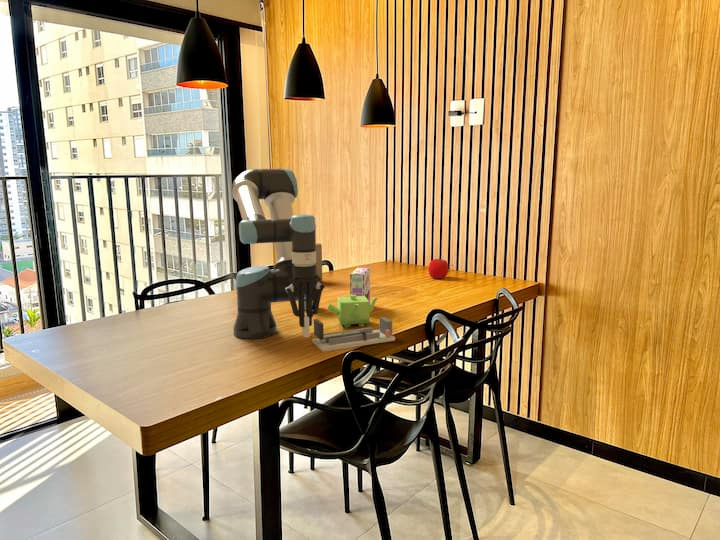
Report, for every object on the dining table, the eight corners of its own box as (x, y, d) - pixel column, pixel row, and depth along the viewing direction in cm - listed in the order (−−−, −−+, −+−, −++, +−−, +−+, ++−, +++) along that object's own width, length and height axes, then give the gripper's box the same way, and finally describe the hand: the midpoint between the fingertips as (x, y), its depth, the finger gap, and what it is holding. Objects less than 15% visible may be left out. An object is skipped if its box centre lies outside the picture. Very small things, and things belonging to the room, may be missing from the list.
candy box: (364, 313, 208) (364, 273, 205) (349, 313, 209) (349, 273, 206) (370, 305, 221) (370, 267, 218) (357, 304, 222) (356, 267, 219)
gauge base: (322, 351, 164) (322, 333, 163) (312, 342, 173) (312, 324, 172) (395, 340, 175) (395, 322, 174) (381, 332, 184) (381, 315, 183)
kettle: (380, 322, 196) (380, 293, 194) (360, 332, 184) (360, 301, 182) (348, 316, 204) (347, 288, 202) (326, 325, 192) (325, 296, 190)
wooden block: (308, 279, 275) (307, 241, 271) (323, 281, 269) (322, 243, 265) (295, 282, 267) (294, 244, 263) (310, 284, 261) (309, 245, 257)
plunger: (322, 347, 164) (321, 325, 163) (314, 339, 171) (313, 319, 170) (366, 340, 170) (366, 319, 169) (356, 333, 177) (356, 313, 176)
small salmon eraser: (386, 337, 173) (386, 330, 173) (385, 336, 175) (385, 329, 174) (390, 336, 174) (390, 330, 173) (388, 335, 175) (388, 329, 175)
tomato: (428, 276, 281) (428, 256, 279) (448, 276, 279) (448, 256, 277) (428, 280, 271) (428, 259, 269) (448, 280, 269) (449, 260, 267)
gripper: (288, 268, 156) (290, 342, 161) (327, 264, 162) (329, 336, 166) (280, 264, 163) (283, 335, 167) (319, 260, 168) (320, 329, 173)
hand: (305, 335), depth 167 cm, fingers closed
